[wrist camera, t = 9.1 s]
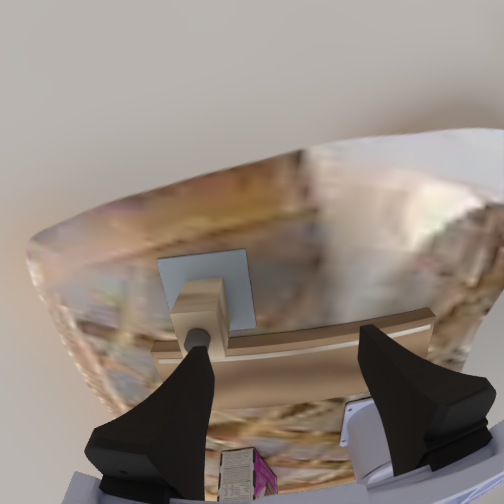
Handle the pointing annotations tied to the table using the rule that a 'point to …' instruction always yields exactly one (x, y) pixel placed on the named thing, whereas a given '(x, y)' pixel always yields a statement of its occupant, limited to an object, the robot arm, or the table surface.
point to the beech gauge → (202, 317)
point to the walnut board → (298, 362)
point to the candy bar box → (244, 476)
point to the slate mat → (213, 266)
